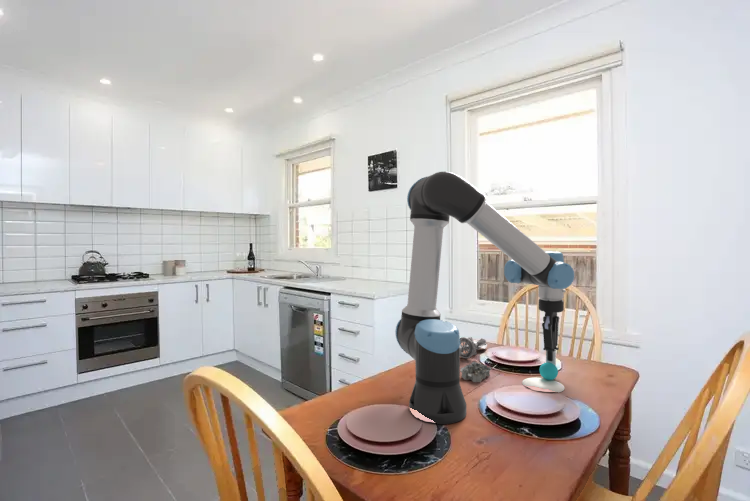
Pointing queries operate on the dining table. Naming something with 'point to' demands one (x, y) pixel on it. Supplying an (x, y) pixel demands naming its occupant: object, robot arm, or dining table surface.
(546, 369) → the ball
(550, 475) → the dining table surface
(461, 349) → the spaceship
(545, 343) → the robot arm
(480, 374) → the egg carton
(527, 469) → the dining table surface
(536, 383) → the disc
